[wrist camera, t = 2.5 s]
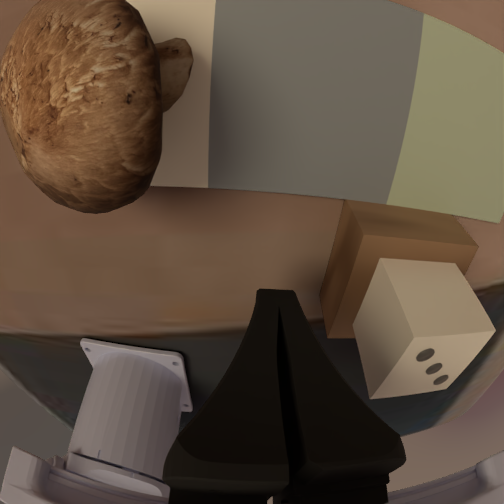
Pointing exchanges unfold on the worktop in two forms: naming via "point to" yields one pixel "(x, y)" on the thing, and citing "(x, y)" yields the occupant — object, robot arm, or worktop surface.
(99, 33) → the mushroom
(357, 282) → the plinth
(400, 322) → the beige cube
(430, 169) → the board
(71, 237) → the worktop surface
